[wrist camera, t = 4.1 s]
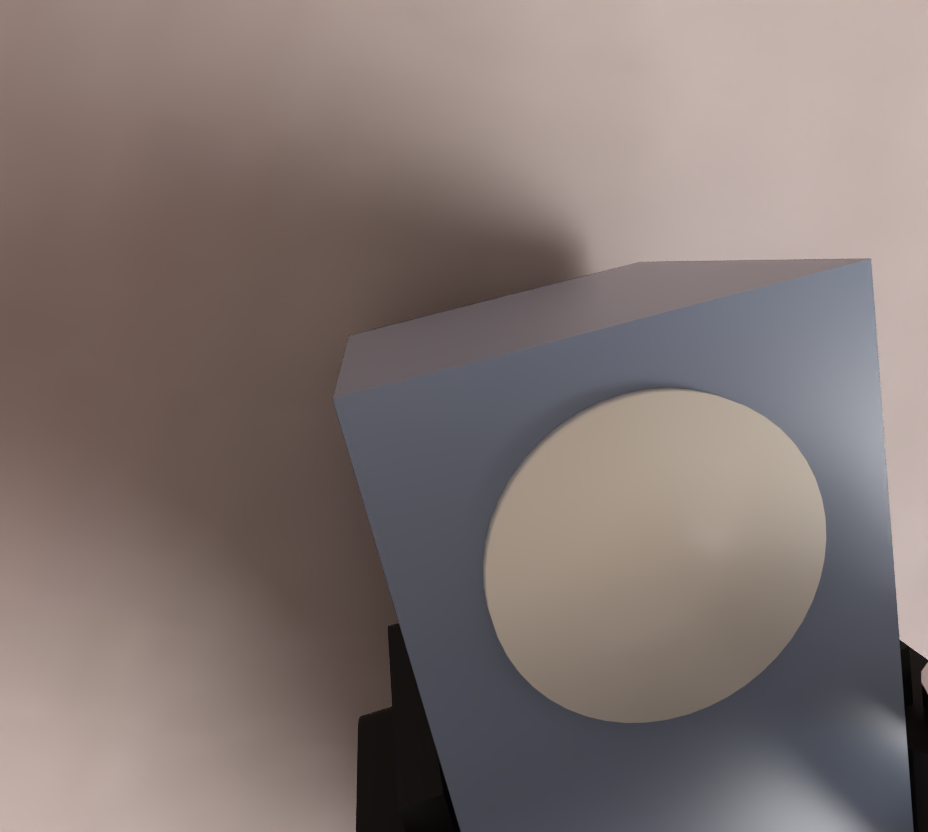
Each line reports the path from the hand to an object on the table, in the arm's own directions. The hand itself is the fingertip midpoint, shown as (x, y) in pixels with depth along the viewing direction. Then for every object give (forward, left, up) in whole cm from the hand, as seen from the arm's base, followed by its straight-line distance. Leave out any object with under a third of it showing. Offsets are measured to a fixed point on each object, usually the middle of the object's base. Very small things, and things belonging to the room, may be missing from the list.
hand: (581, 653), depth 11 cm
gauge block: (0, +1, -1) cm, 1 cm away
